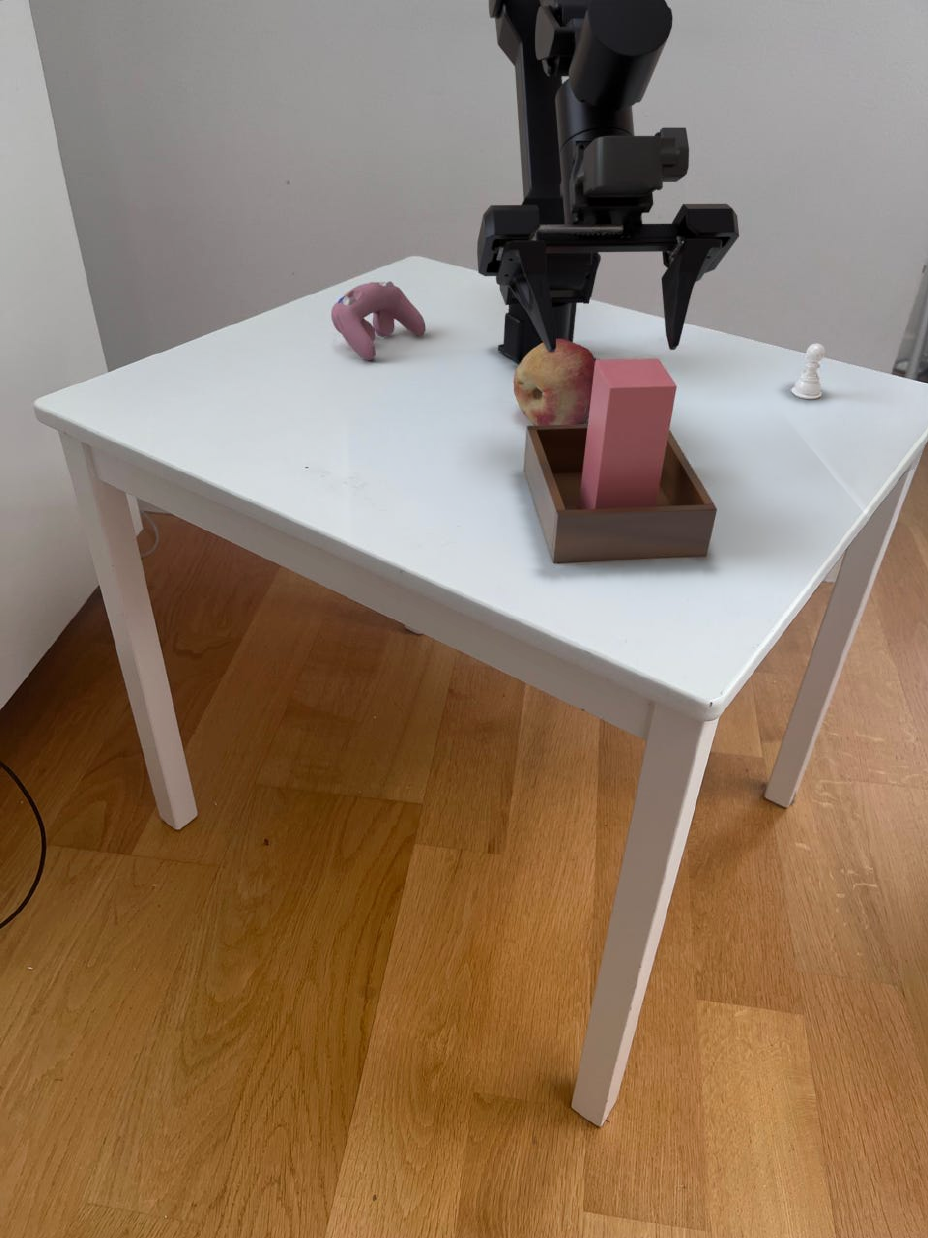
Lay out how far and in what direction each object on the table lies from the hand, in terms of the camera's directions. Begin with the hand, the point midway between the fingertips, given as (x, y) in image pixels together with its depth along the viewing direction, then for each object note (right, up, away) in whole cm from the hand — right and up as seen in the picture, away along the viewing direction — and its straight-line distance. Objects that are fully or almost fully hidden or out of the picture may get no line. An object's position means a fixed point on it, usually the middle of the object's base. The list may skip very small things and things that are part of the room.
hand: (613, 349), depth 70 cm
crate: (0, -12, +4) cm, 13 cm away
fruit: (-3, -3, +16) cm, 17 cm away
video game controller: (-20, +9, +31) cm, 38 cm away
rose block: (0, -12, +2) cm, 13 cm away
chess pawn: (+22, +2, +23) cm, 32 cm away
